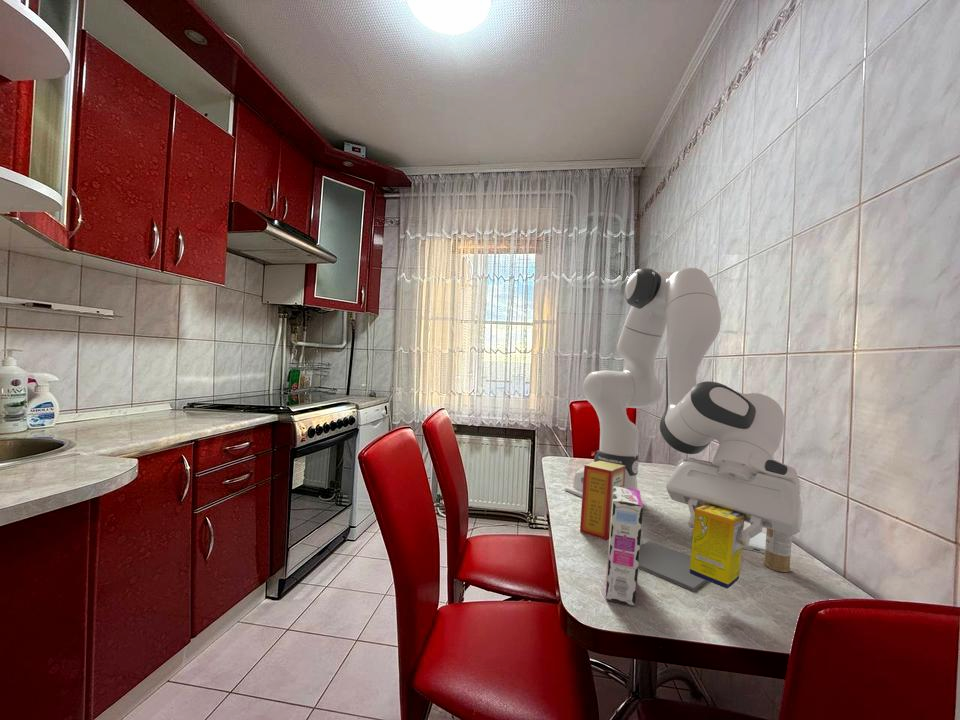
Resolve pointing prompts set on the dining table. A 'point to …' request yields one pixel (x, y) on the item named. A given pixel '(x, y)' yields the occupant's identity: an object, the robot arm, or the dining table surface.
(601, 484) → the baking soda box
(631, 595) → the candy bar box
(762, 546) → the hard drive
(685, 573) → the mat
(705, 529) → the supplement box
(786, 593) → the dining table surface
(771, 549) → the sprinkles bottle
